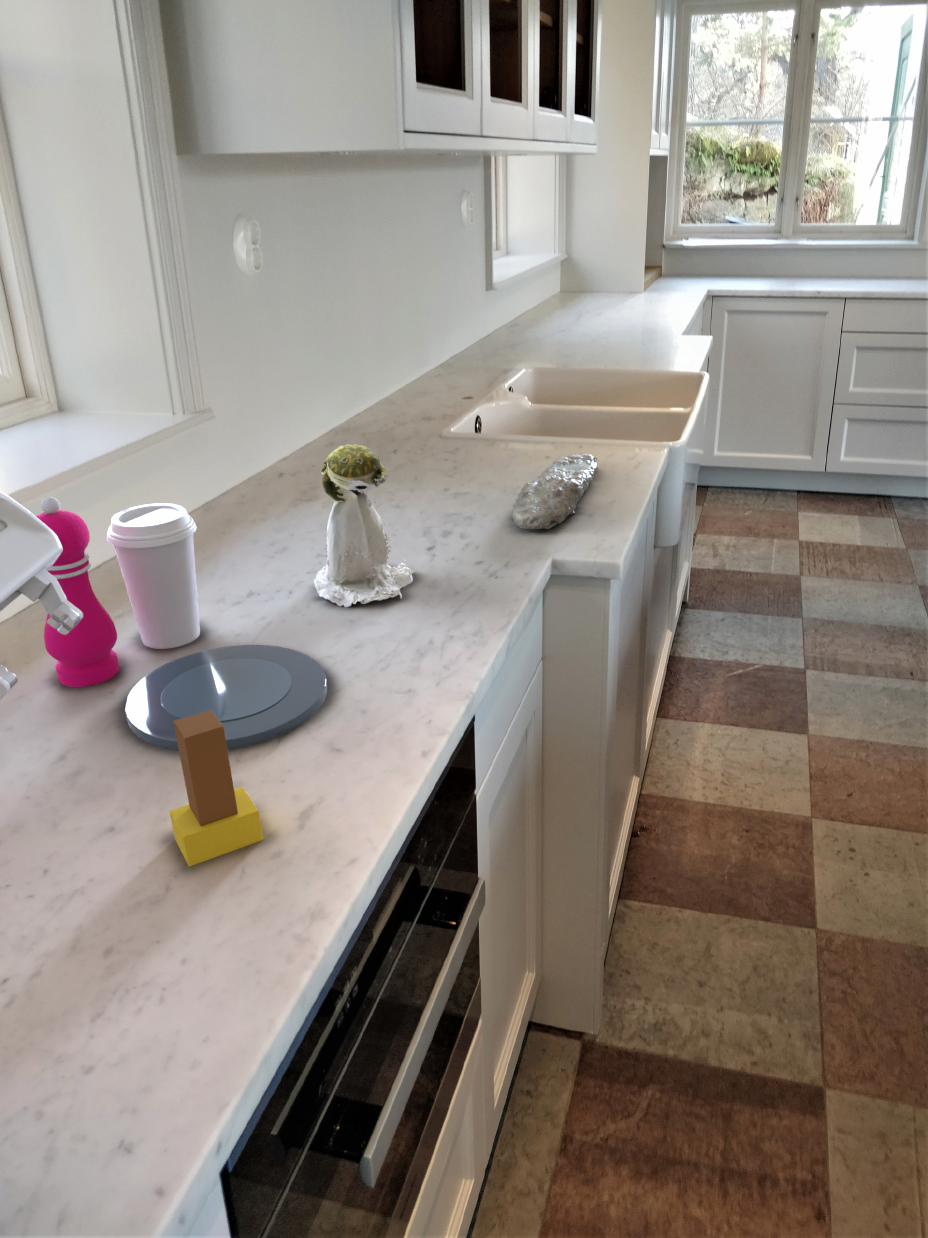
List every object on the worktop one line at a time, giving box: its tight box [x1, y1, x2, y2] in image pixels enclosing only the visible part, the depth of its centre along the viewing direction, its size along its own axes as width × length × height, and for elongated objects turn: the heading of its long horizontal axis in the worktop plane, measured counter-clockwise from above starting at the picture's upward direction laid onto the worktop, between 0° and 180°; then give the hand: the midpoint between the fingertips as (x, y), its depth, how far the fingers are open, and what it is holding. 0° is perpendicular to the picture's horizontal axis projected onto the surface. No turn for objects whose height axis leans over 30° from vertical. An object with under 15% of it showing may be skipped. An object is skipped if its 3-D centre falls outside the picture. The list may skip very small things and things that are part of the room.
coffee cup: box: [106, 502, 201, 650], centre depth 108 cm, size 10×10×15 cm
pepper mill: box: [35, 496, 120, 688], centre depth 100 cm, size 7×7×20 cm
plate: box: [124, 644, 328, 752], centre depth 97 cm, size 20×20×1 cm
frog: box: [313, 444, 415, 608], centre depth 119 cm, size 12×13×18 cm
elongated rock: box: [511, 452, 599, 530], centre depth 152 cm, size 35×5×10 cm
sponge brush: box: [169, 710, 264, 867], centre depth 75 cm, size 6×4×11 cm, turn 121°
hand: (44, 656), depth 70 cm, fingers open, 8 cm apart
